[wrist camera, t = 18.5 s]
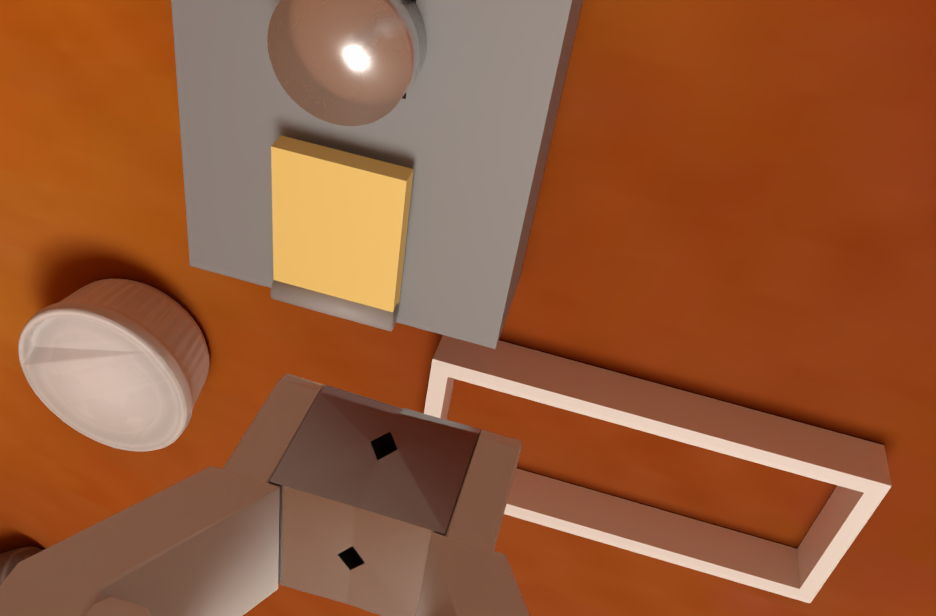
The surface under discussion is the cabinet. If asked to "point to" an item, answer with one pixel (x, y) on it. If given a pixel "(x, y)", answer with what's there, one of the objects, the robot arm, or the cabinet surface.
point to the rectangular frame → (691, 422)
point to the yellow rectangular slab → (338, 231)
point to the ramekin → (117, 363)
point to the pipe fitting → (14, 559)
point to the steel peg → (347, 55)
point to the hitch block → (385, 147)
